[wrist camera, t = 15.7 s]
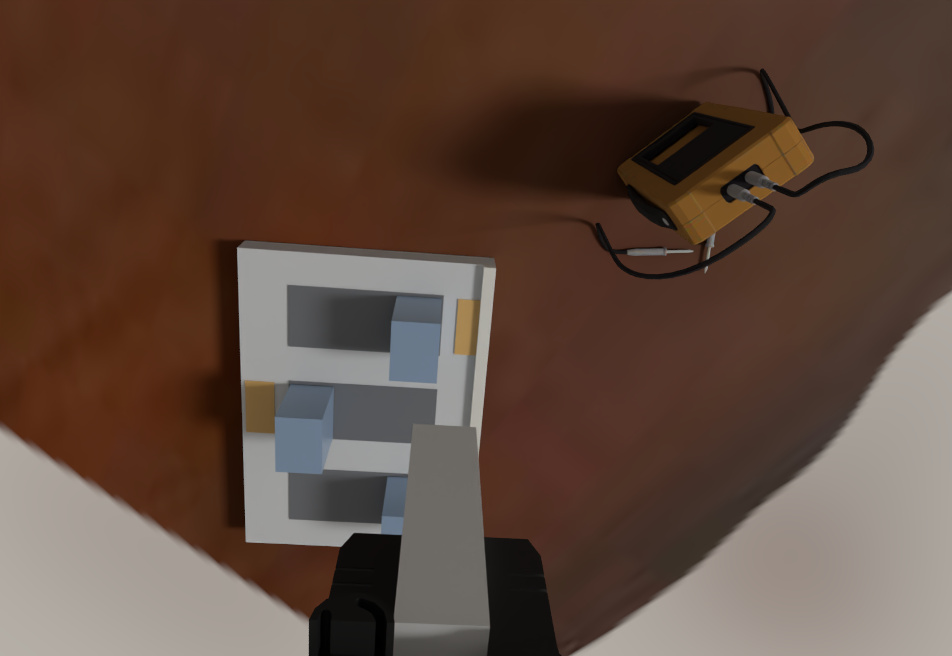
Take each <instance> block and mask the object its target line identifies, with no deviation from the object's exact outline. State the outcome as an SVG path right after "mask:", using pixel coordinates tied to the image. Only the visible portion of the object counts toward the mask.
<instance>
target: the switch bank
mask: <svg viewBox="0 0 952 656" xmlns="http://www.w3.org/2000/svg"><path fill="white" fill-rule="evenodd" d="M237 260H238V294H239V327H240V361H241V394H242V428H243V461H244V495H245V528H246V542H256V543H277V544H299V545H320V546H341V547H342V545H343V544H344V543H345V542H346V541H347V540H348V539H349V538H350V537H351V535H352V534H353V533H371V534H381V524H382V512H383V505H384V498H385V491H386V485H387V478H388V477H406V478H408V470H409V460H410V450H411V440H412V430H413V424H428V425H446V426H463V427H476V432H477V446H478V456H479V445H480V434H481V424H482V413H483V402H484V392H485V381H486V370H487V360H488V349H489V338H490V328H491V317H492V306H493V295H494V285H495V274H496V266H495V261H494V258H487V257H473V256H458V255H444V254H430V253H416V252H402V251H387V250H373V249H359V248H345V247H331V246H317V245H302V244H288V243H274V242H260V241H246V240H245V241H244V242H243V243H242V244H241V245H239V246H238V247H237ZM397 296H408V297H423V298H438V299H442V303H441V328H440V342H439V357H438V371H437V384H434V383H417V382H401V381H389V366H390V344H391V321H392V316H393V312H394V307H395V303H396V298H397ZM290 384H295V385H312V386H328V387H334V407H333V439H332V442H331V446H330V449H329V452H328V455H327V459H326V462H325V465H324V469H323V472H322V474H307V473H288V472H275V416H276V413H277V411H278V409H279V407H280V405H281V403H282V401H283V399H284V397H285V395H286V393H287V391H288V389H289V386H290Z"/></svg>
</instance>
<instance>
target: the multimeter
mask: <svg viewBox="0 0 952 656" xmlns="http://www.w3.org/2000/svg"><path fill="white" fill-rule="evenodd" d="M760 75H761V78H762V81H763V85H764V88H765V91H766V94H767V98H768V102H769V108H770V113H766V112H761V111H755V110H750V109H745V108H739V107H733V106H727V105H721V104H714V103H710V102H705V103H703V104H702V105H700V106H699V107H697V108H696V109H694V110H693V111H692V112H691V113H690V114H689V115H687V116H686V117H685V118H683V119H682V120H680V121H679V122H678V123H676V124H675V125H674V126H672V127H671V128H670V129H668V130H667V131H666V132H664V133H663V134H662V135H660V136H659V137H658V138H656V139H655V140H654V141H652V142H651V143H650V144H648V145H647V146H646V147H644V148H643V149H642V150H640V151H639V152H638V153H636V154H635V155H634V156H632V157H631V158H629V159H628V160H626V161H625V162H624V163H622V164H621V165H620V166H619V167H618V169H617V173H618V174H619V176H620V177H621V179H622V180H623V182H624V183H625V184H626V186H627V188H628V196H629V197H630V199H631V201H632V203H633V204H634V206H635V207H636V209H637V210H638V211H639V212H640V213H641V214H642V215H643V216H645V217H646V218H647V219H649V220H650V221H651V222H653V223H655V224H657V225H659V226H661V227H666V228H670V229H673V230H674V231H675V232H677V233H678V234H679V235H680V236H682V237H683V238H684V239H685V240H687V241H688V242H689V243H690V244H693V245H696V244H698V243H700V242H703V241H704V240H706V239H707V242H706V244H705V246H706V247H708V249H707V255H706V260H705V261H703V262H702V263H699V264H697V265H694V266H691V267H689V268H686V269H683V270H679V271H675V272H672V273H664V274H643V273H638V272H635V271H633V270H631V269H629V268H627V267H625V266H624V265H623V264H622V263H621V262H620V261H619V260H618V258H617V256H616V255H615V253H616V254H627V255H634V256H637V255H663V256H666V254H667V253H689V252H693V251H692V250H667V249H666V247H664V248H652V249H630V250H627V251H624V250H614V249H612V247H611V245H610V243H609V241H608V239H607V237H606V235H605V233H604V231H603V229H602V227H601V225H600V223H596V228H597V233H598V237H599V239H600V242H601V244H602V245H603V247H604V248H605V249H606V250H607V251H609V252H610V254H611V256H612V258H613V260H614V261H615V263H616V264H617V266H618V267H619V268H620V269H622V270H623V271H624V272H626V273H628V274H630V275H633V276H635V277H640V278H645V279H667V278H674V277H678V276H682V275H686V274H689V273H692V272H695V271H697V270H700V269H702V268H704V270H705V273H706V270H707V267H708V265H710V264H712V263H714V262H716V261H718V260H720V259H722V258H723V257H725V256H726V255H728V254H730V253H731V252H733V251H734V250H736V249H737V248H739V247H740V246H742V245H743V244H745V243H746V242H748V241H749V240H750V239H752V238H753V237H754V236H756V235H757V234H758V233H759V232H760V231H762V230H763V229H764V228H765V227H766V226H767V225H768V224H769V223H770V222H771V220H772V219H773V217H774V215H775V212H776V210H775V208H774V207H773V206H771V205H769V204H767V203H765V202H763V201H761V200H762V199H763V198H765V197H766V196H767V195H769V194H770V193H772V192H773V191H778V192H780V193H783V194H785V195H788V196H790V197H799V196H801V195H803V194H805V193H807V192H808V191H809V190H811V189H812V188H814V187H816V186H817V185H819V184H821V183H823V182H825V181H827V180H829V179H832V178H835V177H838V176H841V175H846V174H851V173H854V172H858V171H860V170H861V169H863V168H865V167H866V166H867V164H868V163H869V162H870V161H871V160H872V157H873V155H874V146H873V142H872V140H871V138H870V136H869V134H868V133H867V132H866V131H865V130H864V129H863V128H862V127H860V126H859V125H856V124H854V123H851V122H845V121H831V122H824V123H819V124H815V125H812V126H809V127H806V128H803V129H798V128H797V127H796V125H795V123H794V121H793V120H792V118H791V116H790V114H789V112H788V110H787V109H786V107H785V105H784V103H783V101H782V99H781V97H780V96H779V94H778V92H777V90H776V88H775V86H774V85H773V83H772V81H771V79H770V78H769V76H768V74H767V73H766V71H765V70H764V69H761V70H760ZM768 85H769V86H770V88H771V90H772V92H773V94H774V96H775V98H776V99H777V101H778V103H779V105H780V107H781V109H782V111H783V113H784V115H785V116H782V115H776V114H774V107H773V101H772V97H771V93H770V89H769V86H768ZM830 126H840V127H846V128H850V129H852V130H855V131H856V132H858V133H859V134H861V136H862V137H863V138H864V139H865V141H866V144H867V155H866V157H865V159H864V161H863V162H861V163H860V164H858V165H856V166H853V167H849V168H844V169H840V170H836V171H833V172H830V173H827V174H825V175H823V176H821V177H819V178H817V179H815V180H814V181H812V182H810V183H809V184H807V185H806V186H805V187H803V188H802V189H800V190H798V191H796V192H794V191H791V190H789V189H786V188H784V187H781V185H783V184H784V183H786V182H787V181H789V180H790V179H791V178H793V177H794V176H796V175H798V174H799V173H801V172H802V171H803V170H805V169H806V168H807V167H809V166H810V165H811V164H812V163H813V161H814V156H813V154H812V152H811V151H810V149H809V147H808V146H807V144H806V142H805V141H804V139H803V138H802V135H801V133H805V132H809V131H812V130H815V129H818V128H823V127H830ZM753 205H758V206H760V207H762V208H764V209H767V210H769V212H770V213H769V214H768V216H767V217H766V218H765V220H764V221H763V222H762V223H760V224H759V225H758V226H757V227H756V228H755V229H754V230H752V231H751V232H750V233H748V234H747V235H746V236H744V237H743V238H741V239H740V240H739V241H737V242H736V243H734V244H733V245H731V246H730V247H728V248H726V249H725V250H723V251H722V252H720V253H718V254H717V255H715V256H713V257H711V258H709V255H710V249H711V247H714V238H715V232H717V231H718V230H719V229H721V228H722V227H724V226H725V225H726V224H728V223H729V222H731V221H732V220H733V219H735V218H736V217H738V216H739V215H741V214H742V213H743V212H745V211H746V210H748V209H749V208H750V207H752V206H753Z"/></svg>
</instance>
